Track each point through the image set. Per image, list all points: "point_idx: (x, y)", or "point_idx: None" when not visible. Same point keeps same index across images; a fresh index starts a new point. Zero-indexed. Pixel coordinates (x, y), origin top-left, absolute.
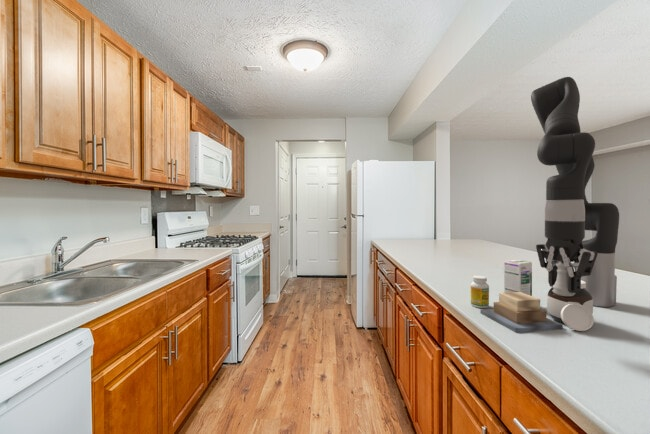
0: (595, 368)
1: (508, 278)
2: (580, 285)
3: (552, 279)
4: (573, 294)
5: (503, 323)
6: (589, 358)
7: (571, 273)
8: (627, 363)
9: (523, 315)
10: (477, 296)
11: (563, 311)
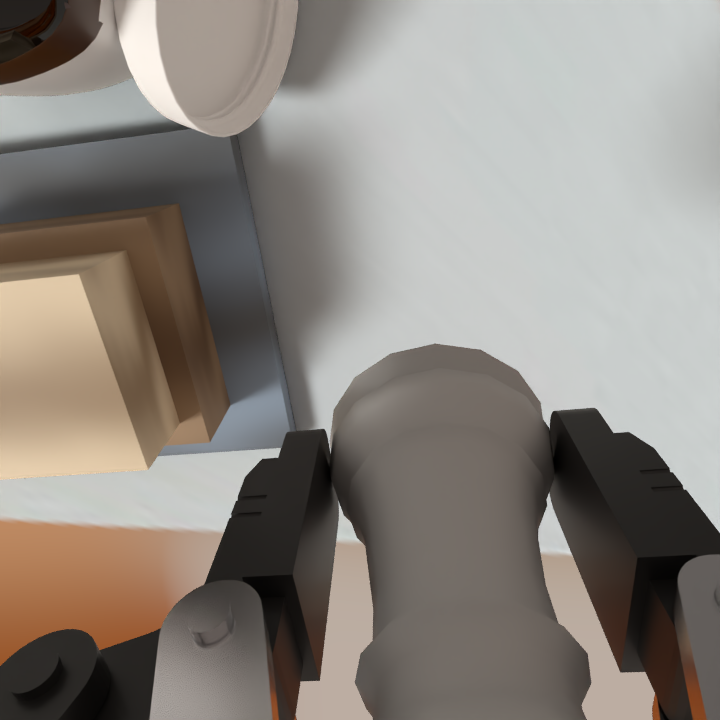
0: (686, 352)
1: None
2: (674, 479)
3: (329, 577)
4: (541, 417)
5: (207, 447)
6: (607, 300)
7: None
8: (704, 147)
9: (203, 390)
10: None
11: (197, 126)
